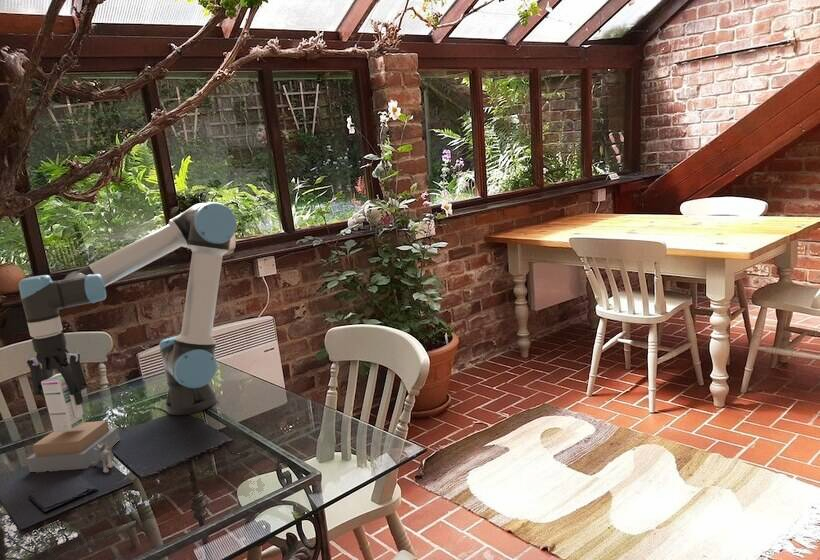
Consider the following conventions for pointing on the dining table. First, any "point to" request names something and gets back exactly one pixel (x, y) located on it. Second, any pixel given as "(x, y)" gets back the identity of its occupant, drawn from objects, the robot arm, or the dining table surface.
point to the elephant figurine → (105, 455)
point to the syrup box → (60, 404)
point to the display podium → (71, 447)
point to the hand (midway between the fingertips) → (67, 416)
